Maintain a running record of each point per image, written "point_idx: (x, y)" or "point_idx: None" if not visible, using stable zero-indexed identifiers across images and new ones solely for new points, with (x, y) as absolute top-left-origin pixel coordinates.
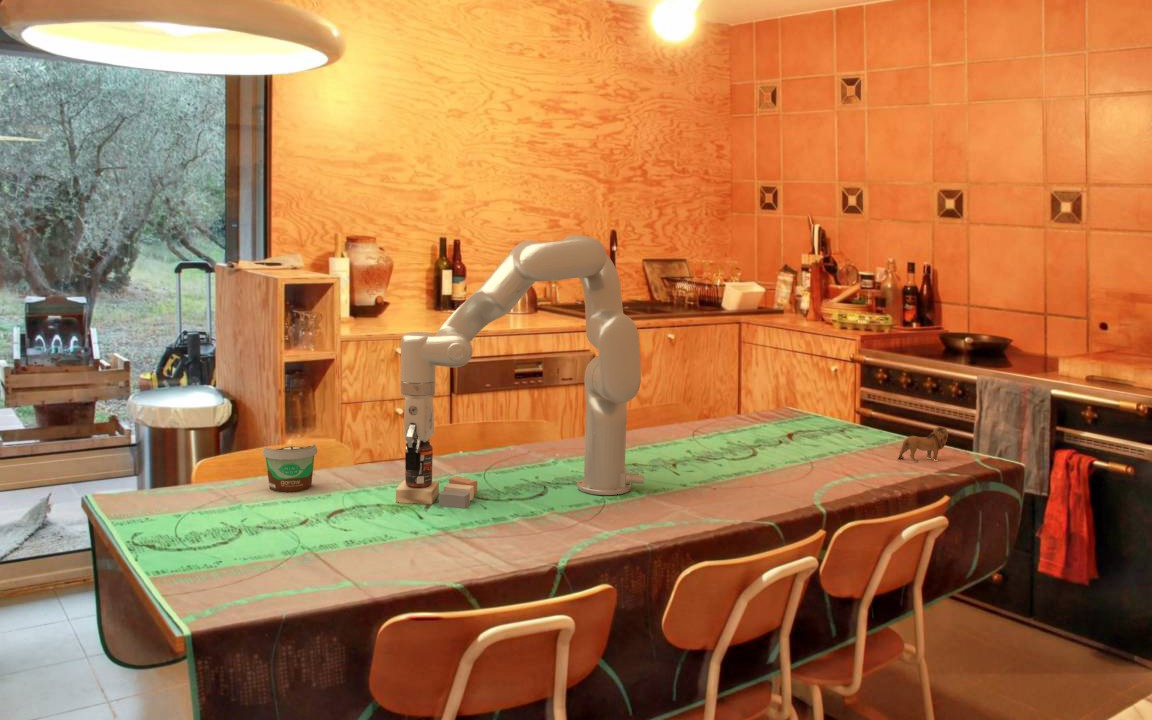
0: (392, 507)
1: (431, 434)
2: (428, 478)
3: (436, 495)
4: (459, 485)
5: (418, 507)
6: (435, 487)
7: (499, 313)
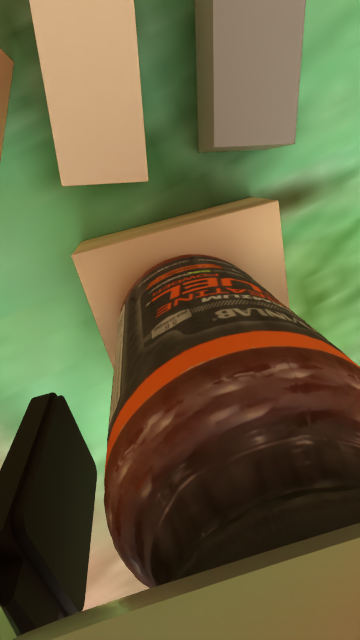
0: (329, 326)
1: (282, 636)
2: (228, 265)
3: (140, 227)
4: (68, 86)
5: (307, 233)
6: (172, 227)
7: None
